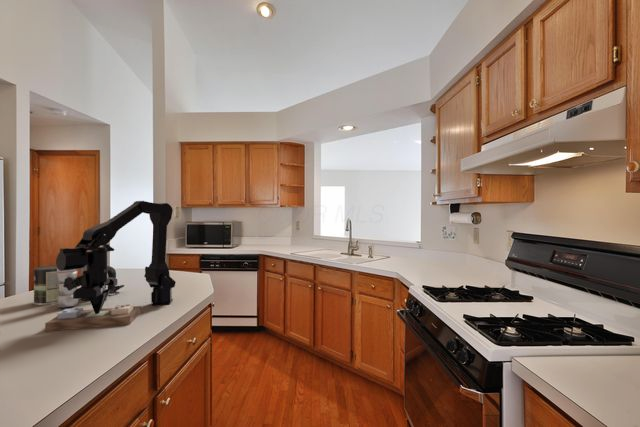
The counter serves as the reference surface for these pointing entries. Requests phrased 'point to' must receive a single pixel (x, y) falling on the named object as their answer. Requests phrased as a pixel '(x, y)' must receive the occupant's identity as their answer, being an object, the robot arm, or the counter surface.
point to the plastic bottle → (64, 295)
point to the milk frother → (110, 274)
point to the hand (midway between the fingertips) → (97, 313)
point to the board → (93, 320)
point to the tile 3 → (122, 309)
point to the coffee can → (46, 285)
